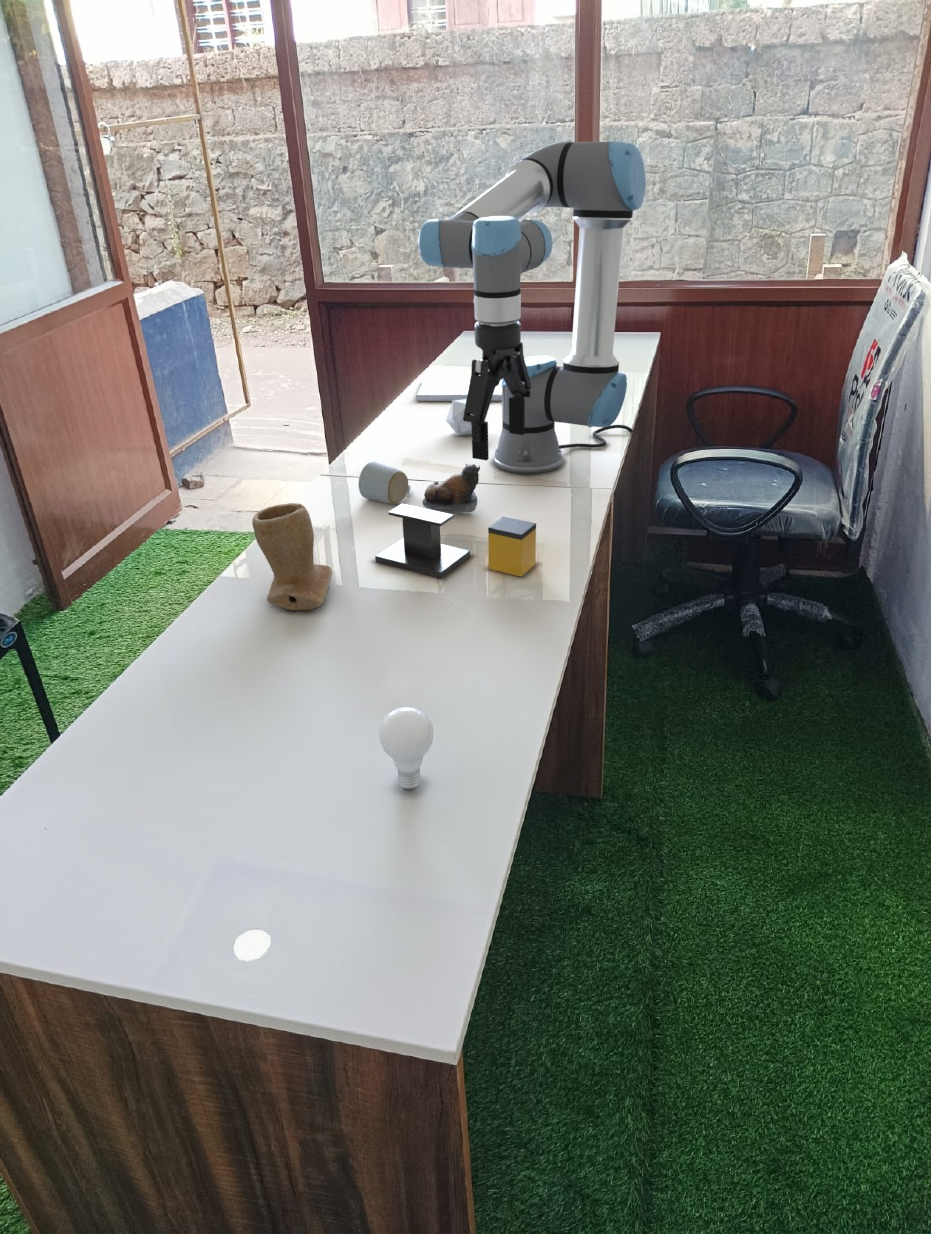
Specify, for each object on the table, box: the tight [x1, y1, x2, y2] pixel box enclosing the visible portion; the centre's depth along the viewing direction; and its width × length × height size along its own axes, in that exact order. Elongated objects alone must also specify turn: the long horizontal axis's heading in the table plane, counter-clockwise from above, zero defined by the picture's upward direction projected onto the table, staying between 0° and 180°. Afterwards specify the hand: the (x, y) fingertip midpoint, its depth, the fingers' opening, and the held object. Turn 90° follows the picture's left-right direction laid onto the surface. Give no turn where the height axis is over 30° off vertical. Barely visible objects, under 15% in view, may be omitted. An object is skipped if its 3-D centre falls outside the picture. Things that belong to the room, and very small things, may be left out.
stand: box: [374, 503, 471, 579], centre depth 163 cm, size 10×14×9 cm
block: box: [487, 516, 537, 578], centre depth 160 cm, size 6×6×8 cm
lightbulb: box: [378, 706, 434, 790], centre depth 108 cm, size 6×6×11 cm
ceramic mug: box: [358, 461, 411, 505], centre depth 189 cm, size 11×8×8 cm
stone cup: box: [251, 502, 333, 611], centre depth 152 cm, size 15×12×15 cm
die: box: [445, 399, 472, 437], centre depth 225 cm, size 8×9×10 cm
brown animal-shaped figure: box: [421, 463, 481, 513], centre depth 182 cm, size 12×7×10 cm, turn 72°
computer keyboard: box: [416, 380, 502, 402], centre depth 258 cm, size 43×19×2 cm, turn 85°
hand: (499, 445), depth 159 cm, fingers open, 13 cm apart
